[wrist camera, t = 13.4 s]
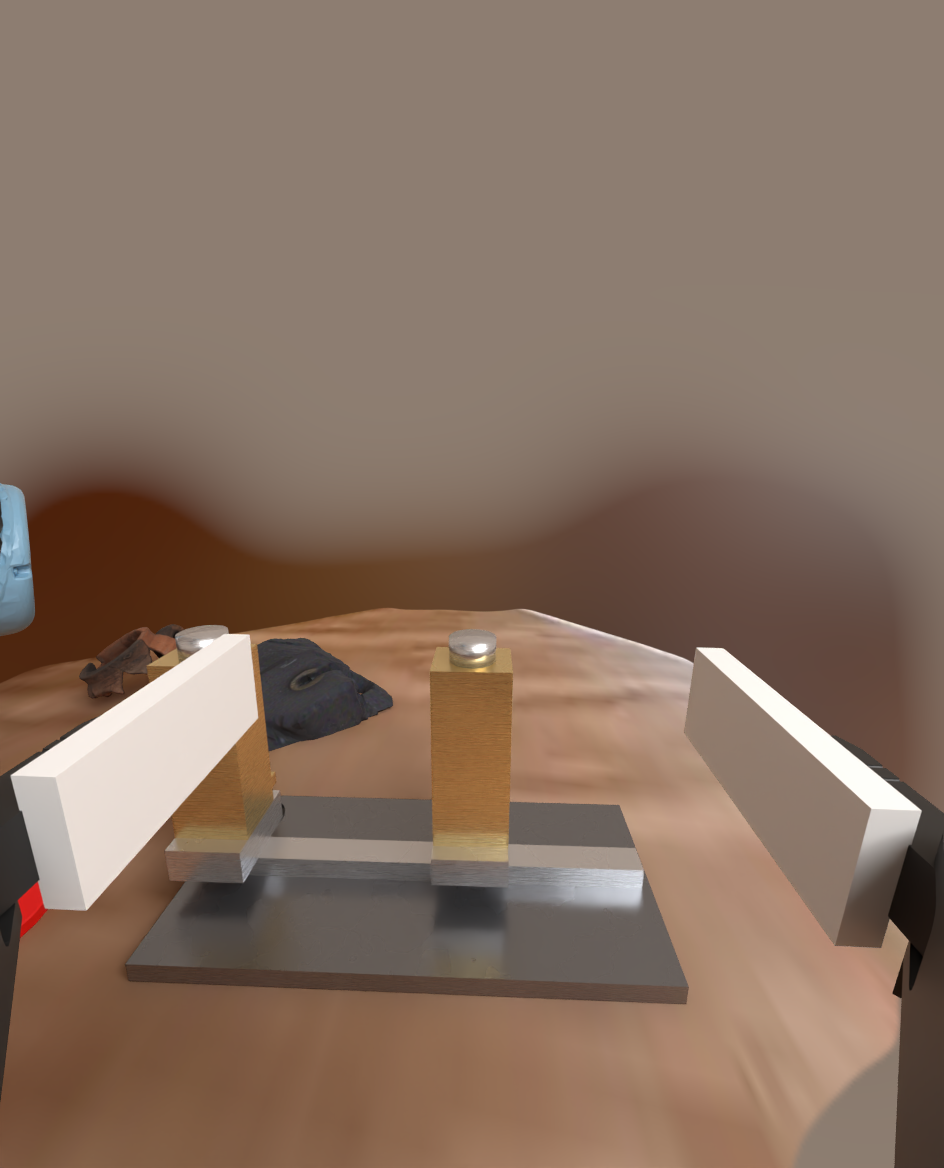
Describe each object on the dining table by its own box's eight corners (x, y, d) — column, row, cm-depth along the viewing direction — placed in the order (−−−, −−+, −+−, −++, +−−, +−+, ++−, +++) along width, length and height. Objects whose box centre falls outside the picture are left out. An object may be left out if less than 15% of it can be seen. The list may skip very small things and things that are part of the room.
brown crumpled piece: (192, 715, 48) (129, 658, 44) (115, 752, 49) (46, 699, 45) (231, 645, 59) (183, 593, 55) (166, 676, 60) (115, 627, 56)
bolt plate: (128, 980, 23) (65, 682, 19) (250, 807, 34) (225, 600, 31) (686, 1003, 22) (730, 695, 18) (618, 817, 34) (636, 606, 30)
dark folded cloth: (324, 650, 65) (321, 616, 64) (403, 716, 48) (402, 671, 47) (195, 678, 56) (190, 640, 55) (237, 771, 39) (230, 718, 38)
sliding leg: (431, 900, 25) (427, 655, 22) (444, 804, 33) (442, 608, 29) (507, 903, 25) (514, 656, 22) (503, 806, 32) (508, 609, 29)
